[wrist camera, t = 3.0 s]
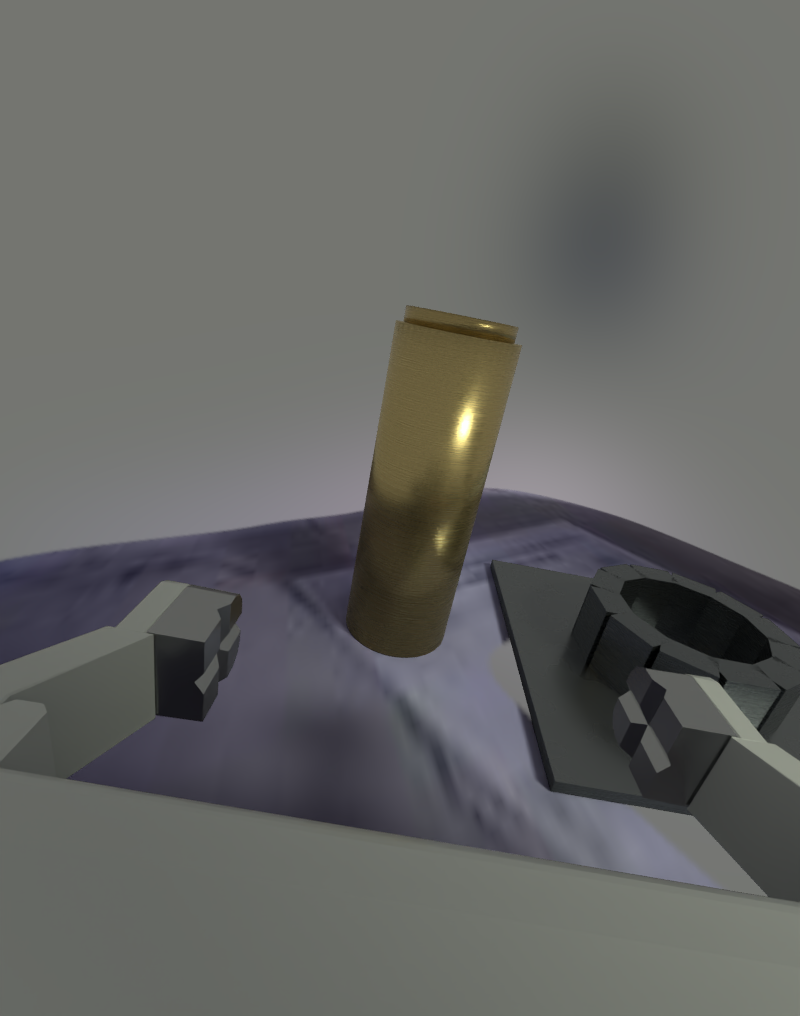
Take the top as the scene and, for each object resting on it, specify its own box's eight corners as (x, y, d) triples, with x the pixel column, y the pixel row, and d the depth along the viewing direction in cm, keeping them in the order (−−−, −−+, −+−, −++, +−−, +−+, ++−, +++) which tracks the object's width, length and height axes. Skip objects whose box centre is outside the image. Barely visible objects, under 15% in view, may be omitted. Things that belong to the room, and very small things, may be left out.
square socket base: (721, 609, 32) (745, 564, 30) (983, 866, 17) (1052, 800, 16) (490, 566, 31) (504, 519, 30) (550, 790, 16) (583, 717, 15)
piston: (442, 603, 26) (513, 327, 21) (446, 666, 21) (539, 330, 16) (353, 587, 26) (401, 305, 20) (338, 646, 21) (395, 301, 16)
